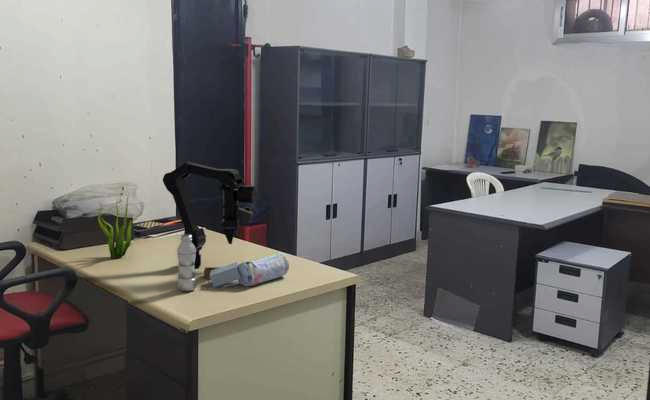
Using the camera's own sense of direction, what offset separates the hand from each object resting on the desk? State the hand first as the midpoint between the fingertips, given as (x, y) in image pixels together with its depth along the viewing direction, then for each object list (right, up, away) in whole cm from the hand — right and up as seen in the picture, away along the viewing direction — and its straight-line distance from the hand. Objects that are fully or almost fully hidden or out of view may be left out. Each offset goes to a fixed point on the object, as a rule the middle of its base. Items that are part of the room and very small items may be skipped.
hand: (230, 241), depth 238 cm
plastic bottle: (-12, -16, -24) cm, 31 cm away
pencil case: (+14, -14, -11) cm, 23 cm away
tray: (-1, -13, -7) cm, 15 cm away
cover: (+1, -13, -17) cm, 22 cm away
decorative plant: (-48, -8, +18) cm, 52 cm away
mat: (0, -15, -17) cm, 23 cm away
